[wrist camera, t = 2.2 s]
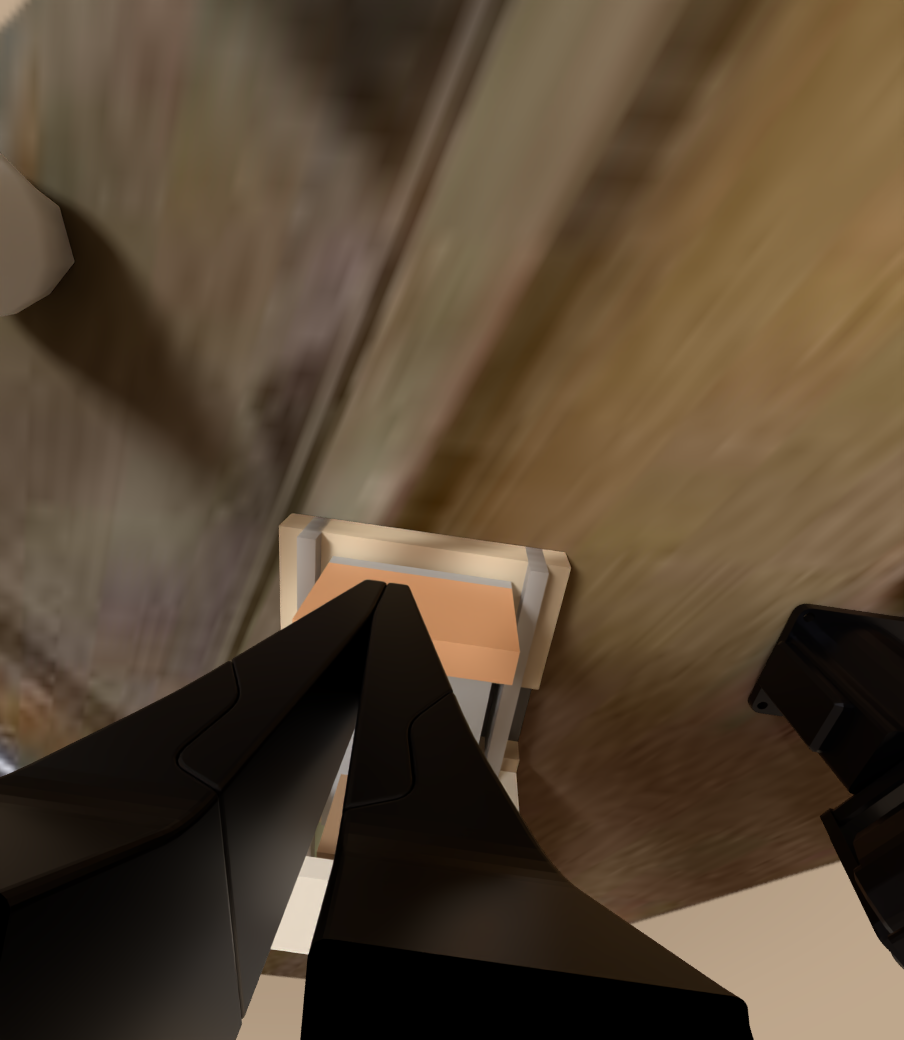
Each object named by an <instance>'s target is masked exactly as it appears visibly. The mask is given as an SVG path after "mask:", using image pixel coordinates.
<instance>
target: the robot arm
mask: <svg viewBox="0 0 904 1040" xmlns="http://www.w3.org/2000/svg"><path fill="white" fill-rule="evenodd" d="M808 613H809V614H808ZM806 614H808V615H807V616H805V615H806ZM804 616H805V617H804ZM760 702H761V703H760ZM748 703H749V705H750V706H751V708H752V709H753V710H754V711H755V712H758V713H763V714H770V715H777V716H784V717H785V718H786V719H787V721H788V722H789V723H790V725H791V726H792V727H793V728H794V730H795V731H796V732H797V733H798V735H799V736H800V737H801V738H802V740H803V741H804V742H805V744H806V745H807V746H808V747H809V749H810V750H812V751H813V752H818V753H819V755H820V756H821V757H822V758H823V760H824V761H825V762H826V763H827V765H828V766H829V767H830V768H831V770H832V771H833V772H834V773H835V775H836V776H837V777H838V778H839V780H840V781H841V782H842V783H843V785H844V786H845V787H846V788H847V790H848V791H849V792H850V793H852V794H854V795H853V796H852V797H850V798H849V799H848V800H846V801H845V802H843V803H842V804H841V805H839V806H838V807H837V808H835V809H834V810H833V809H831V808H830V809H829V810H827V811H826V812H825V813H823V814H822V815H821V816H820V818H821V820H822V822H823V824H824V826H825V828H826V830H827V832H828V835H829V837H830V840H831V842H832V844H833V846H834V848H835V850H836V852H837V854H838V856H839V858H840V861H841V863H842V865H843V867H844V869H845V871H846V873H847V875H848V877H849V879H850V881H851V883H852V885H853V887H854V890H855V892H856V893H857V895H858V898H859V900H860V902H861V904H862V906H863V908H864V910H865V912H866V914H867V916H868V918H869V921H870V922H871V925H872V927H873V929H874V931H875V933H876V935H877V937H878V938H879V940H880V941H881V942H882V944H883V945H884V946H885V947H886V948H887V949H888V950H889V951H890V952H891V954H892V956H893V957H894V959H895V960H896V962H897V963H898V964H899V965H900V966H901V967H902V968H903V969H904V618H903V617H897V616H890V615H883V614H876V613H869V612H862V611H855V610H848V609H841V608H834V607H827V606H820V605H813V604H802V605H799V606H798V607H796V608H795V609H794V611H793V612H792V614H791V616H790V618H789V620H788V622H787V624H786V626H785V628H784V630H783V632H782V634H781V636H780V638H779V640H778V642H777V644H776V646H775V648H774V650H773V652H772V654H771V656H770V657H769V659H768V661H767V663H766V665H765V667H764V669H763V671H762V673H761V675H760V677H759V679H758V681H757V683H756V685H755V687H754V689H753V691H752V693H751V695H750V697H749V699H748ZM354 729H355V731H354ZM353 732H354V737H353V744H352V750H351V757H350V763H349V770H348V776H347V783H346V789H345V796H344V802H343V809H342V817H341V821H340V828H339V834H338V840H337V845H336V850H335V855H334V860H333V865H332V869H331V873H330V876H329V880H328V884H327V887H326V891H325V895H324V898H323V902H322V906H321V909H320V913H319V917H318V920H317V924H316V928H315V931H314V935H313V939H312V942H311V946H310V950H309V953H308V959H307V971H306V982H305V994H304V1004H303V1016H302V1027H301V1038H300V1040H754V1039H753V1036H752V1033H751V1030H750V1026H749V1016H748V1007H747V1005H746V1003H745V1002H744V1001H743V1000H742V999H740V998H739V997H737V996H736V995H734V994H733V993H731V992H729V991H728V990H726V989H725V988H723V987H722V986H720V985H719V984H717V983H716V982H714V981H713V980H711V979H710V978H708V977H706V976H705V975H704V974H702V973H701V972H700V971H698V970H697V969H695V968H694V967H692V966H691V965H689V964H688V963H686V962H685V961H683V960H682V959H680V958H679V957H678V956H676V955H675V954H673V953H672V952H670V951H669V950H667V949H666V948H664V947H663V946H661V945H660V944H658V943H657V942H656V941H654V940H653V939H651V938H650V937H648V936H647V935H645V934H644V933H642V932H641V931H639V930H638V929H636V928H635V927H634V926H632V925H631V924H629V923H628V922H626V921H625V920H623V919H622V918H620V917H619V916H617V915H616V914H614V913H613V912H612V911H610V910H609V909H607V908H606V907H604V906H603V905H601V904H600V903H598V902H597V901H595V900H594V899H592V898H591V897H590V896H588V895H587V894H585V893H584V892H582V891H581V890H579V889H578V888H577V887H575V886H574V885H573V884H572V883H571V882H569V881H568V880H567V879H566V878H565V877H564V876H563V875H562V874H561V873H560V871H559V870H558V869H557V868H556V867H555V866H554V865H553V864H552V862H551V861H550V860H549V858H548V857H547V856H546V854H545V853H544V852H543V850H542V849H541V847H540V846H539V844H538V842H537V841H536V839H535V838H534V836H533V834H532V833H531V831H530V830H529V828H528V826H527V825H526V823H525V821H524V820H523V818H522V816H521V815H520V813H519V811H518V810H517V808H516V806H515V805H514V803H513V802H512V800H511V798H510V797H509V795H508V793H507V792H506V790H505V788H504V787H503V785H502V783H501V782H500V780H499V778H498V777H497V775H496V773H495V772H494V770H493V769H492V767H491V765H490V764H489V762H488V760H487V758H486V757H485V755H484V753H483V751H482V750H481V748H480V746H479V744H478V742H477V741H476V739H475V737H474V735H473V733H472V731H471V729H470V727H469V725H468V723H467V721H466V719H465V716H464V714H463V712H462V710H461V708H460V705H459V703H458V701H457V698H456V696H455V694H454V693H453V689H452V687H451V684H450V682H449V680H448V677H447V675H446V673H445V670H444V668H443V665H442V663H441V661H440V658H439V656H438V654H437V651H436V649H435V646H434V644H433V642H432V639H431V637H430V635H429V632H428V630H427V627H426V625H425V623H424V620H423V618H422V615H421V613H420V611H419V608H418V606H417V604H416V601H415V599H414V596H413V594H412V592H411V589H410V587H409V586H408V585H405V584H398V583H388V584H386V583H385V582H383V581H377V580H370V579H366V580H364V581H362V582H361V583H359V584H357V585H355V586H354V587H352V588H350V589H349V590H347V591H345V592H344V593H342V594H340V595H339V596H337V597H335V598H334V599H332V600H330V601H329V602H327V603H325V604H324V605H322V606H320V607H319V608H317V609H315V610H314V611H312V612H310V613H308V614H307V615H305V616H303V617H302V618H300V619H298V620H297V621H295V622H293V623H292V624H290V625H288V626H287V627H285V628H283V629H282V630H280V631H278V632H277V633H275V634H273V635H272V636H270V637H268V638H267V639H265V640H263V641H261V642H260V643H258V644H256V645H255V646H253V647H251V648H250V649H248V650H246V651H245V652H243V653H241V654H240V655H238V656H236V657H235V658H233V659H232V662H231V661H228V662H226V663H224V664H223V665H221V666H219V667H217V668H216V669H214V670H212V671H211V672H209V673H207V674H206V675H204V676H202V677H200V678H199V679H197V680H195V681H193V682H191V683H190V684H188V685H186V686H184V687H183V688H181V689H179V690H177V691H175V692H174V693H172V694H170V695H168V696H166V697H164V698H162V699H160V700H158V701H156V702H154V703H152V704H150V705H148V706H146V707H144V708H142V709H141V710H139V711H137V712H135V713H133V714H131V715H129V716H127V717H124V718H122V719H120V720H118V721H116V722H114V723H112V724H110V725H108V726H106V727H104V728H102V729H100V730H98V731H96V732H94V733H92V734H90V735H88V736H86V737H84V738H82V739H80V740H78V741H76V742H74V743H72V744H70V745H68V746H66V747H64V748H62V749H60V750H58V751H56V752H54V753H52V754H50V755H48V756H46V757H43V758H41V759H39V760H37V761H35V762H33V763H31V764H29V765H27V766H25V767H23V768H21V769H18V770H16V771H14V772H12V773H10V774H7V775H5V776H2V777H0V1040H236V1038H237V1035H238V1033H239V1030H240V1028H241V1025H242V1019H243V1018H244V1016H245V1014H246V1011H247V1008H248V1006H249V1003H250V1001H251V998H252V995H253V993H254V990H255V988H256V985H257V983H258V980H259V977H260V975H261V972H262V970H263V967H264V964H265V962H266V959H267V956H268V954H269V951H270V949H271V946H272V943H273V941H274V938H275V936H276V933H277V930H278V928H279V925H280V923H281V920H282V917H283V915H284V912H285V909H286V907H287V904H288V902H289V899H290V896H291V894H292V891H293V889H294V886H295V883H296V881H297V878H298V875H299V873H300V870H301V868H302V865H303V862H304V860H305V857H306V855H307V852H308V849H309V847H310V844H311V841H312V839H313V836H314V834H315V831H316V828H317V826H318V823H319V821H320V818H321V815H322V813H323V810H324V808H325V805H326V802H327V800H328V797H329V794H330V792H331V789H332V787H333V784H334V781H335V779H336V776H337V774H338V771H339V768H340V766H341V763H342V760H343V758H344V755H345V753H346V750H347V747H348V745H349V742H350V740H351V737H352V734H353Z"/></svg>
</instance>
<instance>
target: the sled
mask: <svg viewBox="0 0 904 1040" xmlns="http://www.w3.org/2000/svg"><path fill="white" fill-rule="evenodd" d="M366 579H370V580H377V581H383V582H385V583H386V584H388V583H398V584H405V585H408V586H409V587H410V589H411V592H412V594H413V596H414V599H415V601H416V604H417V606H418V608H419V611H420V613H421V615H422V618H423V620H424V623H425V625H426V627H427V630H428V632H429V635H430V637H431V639H432V642H433V644H434V646H435V649H436V651H437V654H438V656H439V658H440V661H441V663H442V665H443V668H444V670H445V673H446V675H447V677H448V680H449V682H450V684H451V687H452V689H453V693H454V694H455V696H456V698H457V701H458V703H459V705H460V708H461V710H462V712H463V714H464V716H465V719H466V721H467V723H468V725H469V727H470V729H471V731H472V733H473V735H474V737H475V739H476V741H477V742H478V744H479V740H480V736H481V731H482V726H483V722H484V717H485V712H486V708H487V703H488V698H489V694H490V689H491V684H492V683H499V684H506V685H512V684H513V679H514V675H515V671H516V667H517V663H518V658H519V654H520V648H519V640H518V632H517V624H516V616H515V609H514V601H513V593H512V585H511V581H504V580H497V579H490V578H483V577H476V576H469V575H462V574H455V573H448V572H441V571H434V570H427V569H420V568H413V567H406V566H399V565H392V564H385V563H379V562H372V561H365V560H358V559H351V558H344V557H337V556H333V557H332V558H331V560H330V562H329V563H328V565H327V566H326V568H325V569H324V571H323V572H322V574H321V575H320V577H319V579H318V580H317V582H316V583H315V585H314V586H313V588H312V589H311V591H310V592H309V594H308V596H307V597H306V599H305V600H304V602H303V603H302V605H301V606H300V608H299V609H298V611H297V613H296V614H295V616H294V617H293V619H292V623H293V622H295V621H297V620H298V619H300V618H302V617H303V616H305V615H307V614H308V613H310V612H312V611H314V610H315V609H317V608H319V607H320V606H322V605H324V604H325V603H327V602H329V601H330V600H332V599H334V598H335V597H337V596H339V595H340V594H342V593H344V592H345V591H347V590H349V589H350V588H352V587H354V586H355V585H357V584H359V583H361V582H362V581H364V580H366ZM354 731H355V729H354ZM353 737H354V732H353V734H352V737H351V740H350V742H349V745H348V747H347V750H346V753H345V755H344V758H343V760H342V763H341V766H340V768H339V771H338V774H337V776H336V779H335V781H334V784H333V787H332V789H331V792H330V794H329V797H328V800H327V802H326V805H325V808H324V810H323V813H322V817H321V825H324V826H325V827H324V830H323V834H322V837H321V840H320V843H319V846H318V850H317V858H323V859H330V860H334V855H335V850H336V845H337V840H338V834H339V828H340V821H341V817H342V809H343V802H344V796H345V789H346V783H347V776H348V770H349V763H350V757H351V750H352V744H353Z"/></svg>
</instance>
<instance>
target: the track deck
mask: <svg viewBox="0 0 904 1040" xmlns="http://www.w3.org/2000/svg"><path fill="white" fill-rule="evenodd" d="M333 556H337V557H344V558H351V559H358V560H365V561H372V562H379V563H385V564H392V565H399V566H406V567H413V568H420V569H427V570H434V571H441V572H448V573H455V574H462V575H469V576H476V577H483V578H490V579H497V580H504V581H511V585H512V593H513V601H514V609H515V616H516V624H517V632H518V640H519V648H520V654H519V658H518V663H517V667H516V671H515V675H514V679H513V684H512V685H506V684H499V683H492V684H491V689H490V694H489V698H488V703H487V708H486V712H485V717H484V722H483V726H482V731H481V736H480V740H479V746H480V748H481V750H482V751H483V753H484V755H485V757H486V758H487V760H488V762H489V764H490V765H491V767H492V769H493V770H494V772H495V773H496V775H497V777H499V773H500V771H506V772H513V773H516V771H517V768H518V764H519V749H518V739H519V735H520V731H521V728H522V724H523V720H524V716H525V712H526V708H527V704H528V701H529V697H530V693H531V689H539V686H540V682H541V678H542V675H543V671H544V667H545V663H546V660H547V656H548V652H549V648H550V645H551V641H552V637H553V634H554V630H555V626H556V622H557V619H558V615H559V611H560V607H561V604H562V600H563V596H564V593H565V589H566V585H567V581H568V578H569V574H570V570H571V566H570V564H569V561H568V558H567V556H566V553H565V552H558V551H551V550H545V549H538V548H531V547H524V546H517V545H510V544H503V543H496V542H489V541H482V540H475V539H468V538H461V537H454V536H447V535H440V534H433V533H426V532H420V531H413V530H406V529H399V528H392V527H385V526H378V525H371V524H364V523H357V522H350V521H343V520H336V519H329V518H322V517H315V516H308V515H301V514H294V513H291V514H290V515H289V516H288V517H287V518H286V519H285V520H284V521H283V522H282V523H281V524H280V525H279V557H280V610H281V630H282V629H283V628H285V627H287V626H288V625H290V624H292V619H293V617H294V616H295V614H296V613H297V611H298V609H299V608H300V606H301V605H302V603H303V602H304V600H305V599H306V597H307V596H308V594H309V592H310V591H311V589H312V588H313V586H314V585H315V583H316V582H317V580H318V579H319V577H320V575H321V574H322V572H323V571H324V569H325V568H326V566H327V565H328V563H329V562H330V560H331V558H332V557H333ZM321 817H322V815H321ZM324 827H325V826H324V825H321V818H320V821H319V823H318V826H317V828H316V831H315V834H314V836H313V839H312V841H311V844H310V847H309V849H308V852H307V855H306V856H309V857H316V858H317V850H318V846H319V843H320V840H321V837H322V834H323V830H324Z"/></svg>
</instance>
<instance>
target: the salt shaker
mask: <svg viewBox="0 0 904 1040" xmlns="http://www.w3.org/2000/svg"><path fill="white" fill-rule="evenodd" d="M74 262H75V261H74V257H73V254H72V250H71V247H70V243H69V239H68V236H67V232H66V229H65V225H64V221H63V218H62V214H61V211H60V207H59V206H58V205H57V204H55V203H54V202H53V201H51V200H50V199H49V198H48V197H46V196H45V195H44V194H43V193H41V192H40V191H39V190H37V189H36V188H35V187H34V186H33V185H32V184H31V183H30V182H29V181H28V180H27V179H26V178H25V177H24V176H23V175H22V174H21V173H20V172H19V171H18V170H17V169H16V168H15V167H14V166H13V165H12V164H11V163H10V162H9V161H8V160H7V159H6V158H5V157H4V156H3V154H2V153H1V152H0V316H7V315H13V314H17V313H18V312H20V311H22V310H24V309H25V308H27V307H29V306H30V305H32V304H34V303H36V302H37V301H39V300H41V299H42V298H44V297H46V296H47V295H49V294H50V293H51V292H52V291H53V289H54V288H55V287H56V286H57V284H58V283H59V282H60V280H61V279H62V278H63V276H64V275H65V274H66V273H67V271H68V270H69V269H70V267H71V266H72V265H73V264H74Z"/></svg>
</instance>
